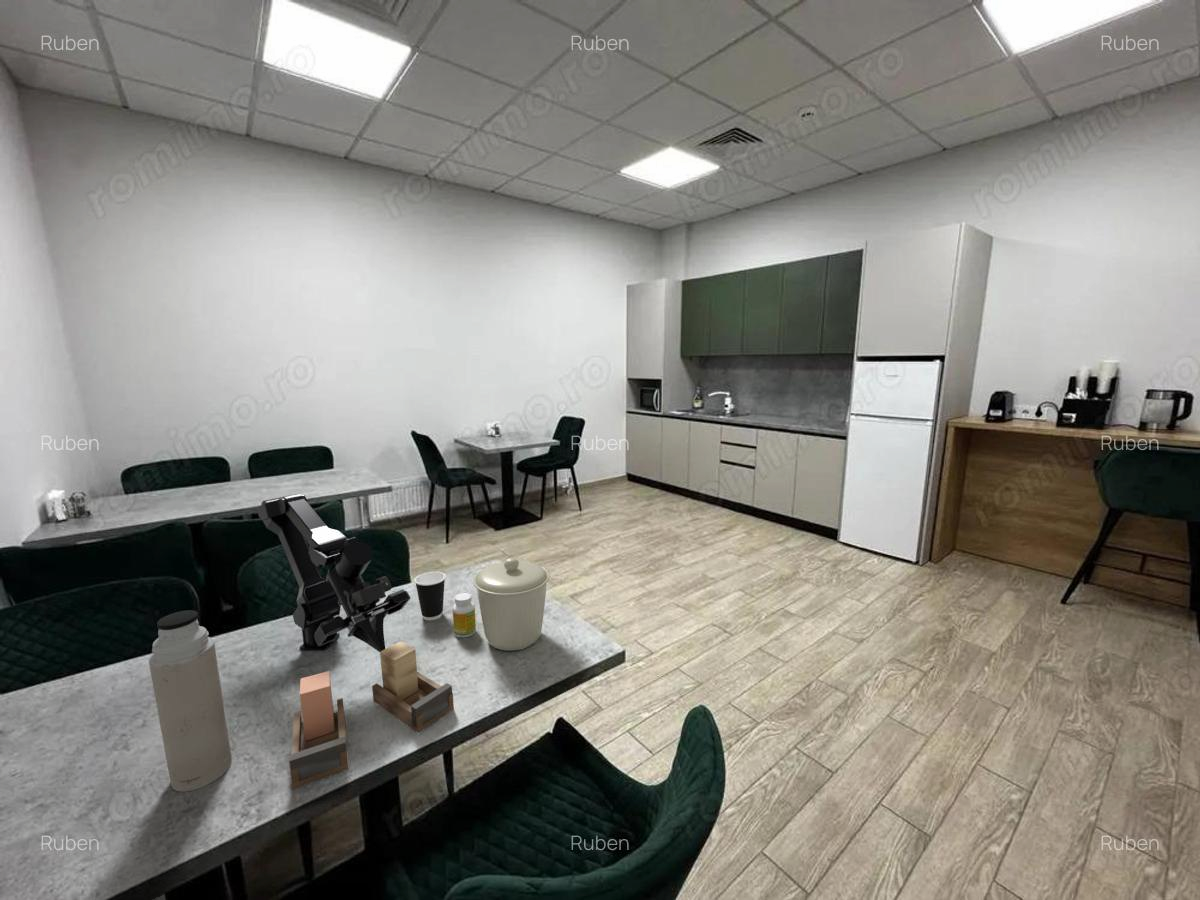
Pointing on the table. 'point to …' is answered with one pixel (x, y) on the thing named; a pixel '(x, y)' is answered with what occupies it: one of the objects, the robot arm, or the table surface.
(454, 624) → the supplement bottle
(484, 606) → the canister
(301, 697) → the terracotta slider
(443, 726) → the table surface
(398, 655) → the oak slider
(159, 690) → the thermos bottle
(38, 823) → the table surface
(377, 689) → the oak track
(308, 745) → the dark wooden block holder
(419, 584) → the dixie cup
